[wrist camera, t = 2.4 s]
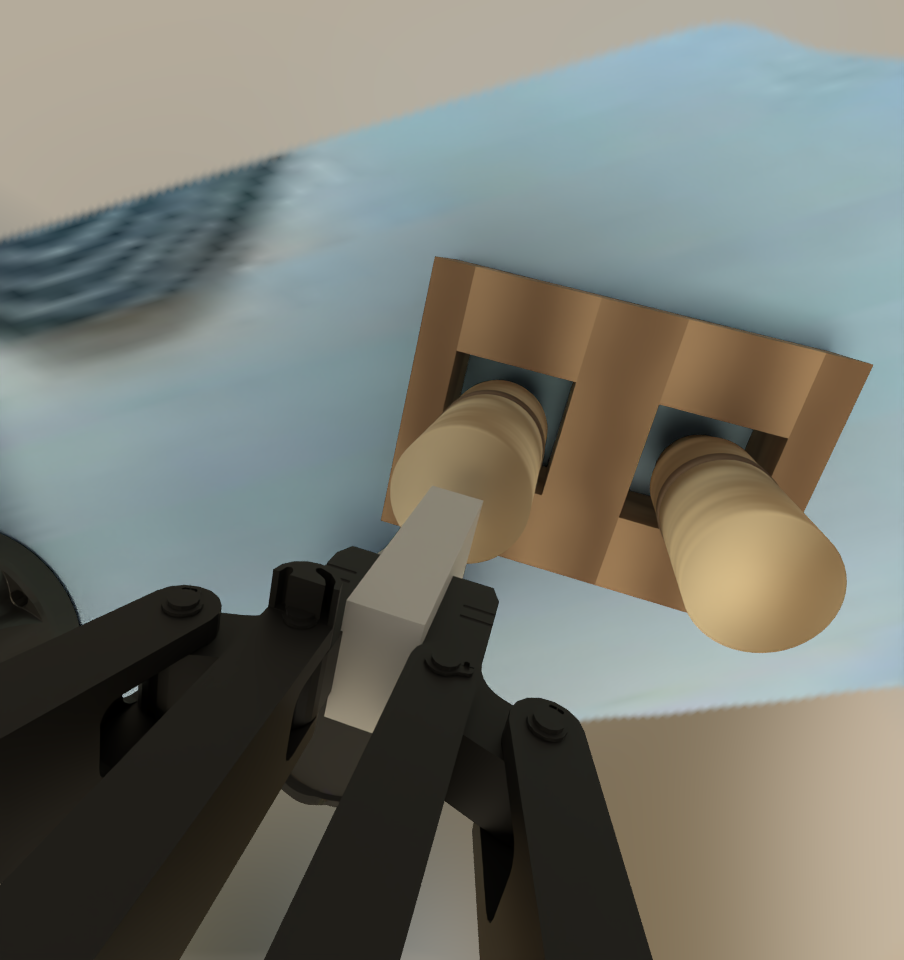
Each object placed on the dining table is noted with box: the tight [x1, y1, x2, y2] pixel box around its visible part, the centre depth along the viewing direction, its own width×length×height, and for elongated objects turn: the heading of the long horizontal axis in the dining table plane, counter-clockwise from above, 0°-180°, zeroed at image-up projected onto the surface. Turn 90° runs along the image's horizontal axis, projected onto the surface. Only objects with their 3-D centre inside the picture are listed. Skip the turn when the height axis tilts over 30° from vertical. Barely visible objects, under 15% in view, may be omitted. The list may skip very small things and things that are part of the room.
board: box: [381, 256, 873, 612], centre depth 32 cm, size 20×14×5 cm
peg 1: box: [390, 380, 547, 564], centre depth 26 cm, size 5×5×12 cm
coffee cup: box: [281, 549, 384, 807], centre depth 34 cm, size 9×9×15 cm
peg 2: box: [650, 435, 847, 653], centre depth 25 cm, size 5×5×12 cm
